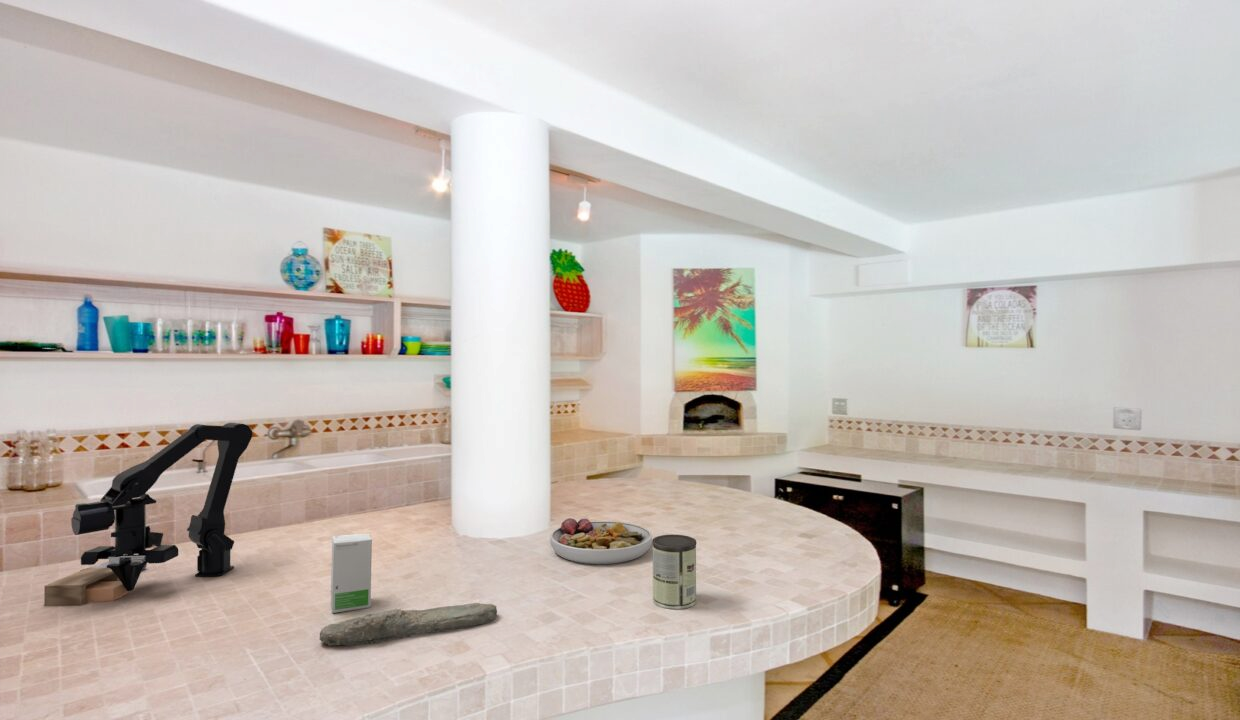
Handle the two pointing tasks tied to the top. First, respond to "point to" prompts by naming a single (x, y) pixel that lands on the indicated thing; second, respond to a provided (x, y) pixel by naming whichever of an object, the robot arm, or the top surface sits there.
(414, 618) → the elongated rock
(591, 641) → the top surface
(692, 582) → the coffee can
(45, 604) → the shelf
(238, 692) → the top surface
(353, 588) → the skincare box
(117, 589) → the peach cardboard box
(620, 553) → the bowl
